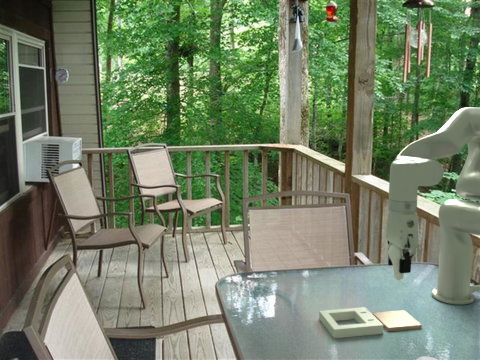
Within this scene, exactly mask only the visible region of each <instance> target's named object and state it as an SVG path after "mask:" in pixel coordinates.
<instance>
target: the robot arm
mask: <svg viewBox="0 0 480 360" xmlns="http://www.w3.org/2000/svg"><path fill="white" fill-rule="evenodd" d="M466 145H467V158H466V160H465V162H464V164H463V166H462V170H461V171H460V174H459V177H458V179H457V181H456V184H455V192H456V195H458V196H459V198H461V199H457V198H451V199H446V200H445V201H443V202H442V203H441V205H440V206H439V208H438V222H439V230H440V233H439V235H440V238H439V252H438V253H439V255H438V271H437V285H436V287H434V288H433V289H432V290H431V296H432V297H433V298H434V299H436V300H437V301H439V302H443V303H446V304H449V305H451V304H452V305H456V306H457V305H461V306H462V305H463V306H464V305H469V304H472V303H473V302H474V301H475V295H474V294H473V293H476V292H480V284H476V285H475V283H474V282H472V283H471V276H472V275H471V273H472V264H473V262H472V261H473V251H474V245H473V240H472V237H471V236H470V234H471V235H475V236H480V107H473V106H472V107H462V108H460V109H459V110H457V111H455V112H454V114H453V115H452V116H451V117H450V118H449V119H448V120H447V121H446V122H445V123H444V125H442V127H440V128H439V130H437V132H435V133H432V134H429V135H427V136H423V137H422V138H420V139H418V140H415V141H413V142H411V143H410V144H408V145H407V146H406V147H404V148H403V149H402V150H401V151H400V152H399V154H397V155H396V157H395V158H394V159H393V161H392V162H391V163H390V167H389V180H388V181H389V182H388V183H389V184H388V185H389V186H388V206H387V211H388V214H387V220H386V231H385V232H386V233H385V234H386V235H385V237H386V241H387V245H388V246H387V252H388V251H389V248H390V246H391V245H392V244H394V245H395V246H397V247H399V248H400V252H401V259H400V262H399V272H400V273H404V274H408V273H409V274H410V273H411V271H412V260H413V257H414V256H415V254H416V253H417V248H418V246H419V221H418V213H417V211H418V196H419V195H418V193H419V187H432V186H436V185H437V184H439V183H440V182H441V181H442V179H443V177H444V173H445V171H444V167H443V165H442V163H440V162H439V161H437V160H435V159H442V158H448V157H452V156H455V155H457V154H459V153H460V152H461V151H462V149H463V148H464V147H465V146H466ZM463 199H464V200H463ZM465 199H467V200H465ZM468 200H469V201H468ZM473 201H475V202H473ZM405 246H408V248H405ZM404 250H408V252H406V253H404ZM387 257H388V258H387V264H388V266H393V264H392V261H391V259H390V257H389V254H388V255H387Z"/></svg>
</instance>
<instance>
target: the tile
mask: <svg viewBox="0 0 480 360" xmlns="http://www.w3.org/2000/svg"><path fill="white" fill-rule="evenodd" d="M371 313H372V314H373V315H374V316H375V317H376V318H377V319H378V320H379V321H380V322H381V323H382V324H383V329H385V330H386V331H387V332H395V331H405V330H407V331H408V330H417V329H422V328H423V324H421V322H420V321H418V320H417V319H416V318H415V317H413V316H412V315H411V314H410V313H408V312H407V311H406V310H404V309H399V310H388V311H387V310H386V311H378V312H371Z"/></svg>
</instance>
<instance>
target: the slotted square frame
mask: <svg viewBox="0 0 480 360" xmlns="http://www.w3.org/2000/svg"><path fill="white" fill-rule="evenodd" d="M318 312H319V313H318V319H319V321H320V322H321V323H322V325H323V326H324V328H325V329H326V330H327V331H328V332H329V334H330V335H331V336H332V337H333V339H339V338H350V337H351V338H352V337H361V336H372V335H373V336H375V335H382V334H384V327H383V324H382V323H381V322H380V321H379V320H378V319H377V318H376V317H375V316H374V315H373V314H372V313H373V312H370V311H369V309H368V308H366V306H361V307H352V308H351V307H350V308H337V309H325V310H319V311H318ZM347 320H348V321H349V320H355V322H356V323H352V324H343V325H342V324H341V325H339V324H338V323H337V321H338V322H339V321H347Z"/></svg>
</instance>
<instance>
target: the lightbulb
mask: <svg viewBox="0 0 480 360" xmlns="http://www.w3.org/2000/svg"><path fill="white" fill-rule="evenodd" d="M405 248H408V246H405ZM387 252H388V255H389V257H390V259H391V261H392V264H393V265H392V269H393V278H394V279H396V280H397V281H401V280H403V279H404V274H405V273H400V272H399V262H400V259H401V252H400V248H399V247H397V246H395V245H394V244H392V245H391V246H390V248H389V251H388V250H387ZM406 252H408V250H404V253H406Z"/></svg>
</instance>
